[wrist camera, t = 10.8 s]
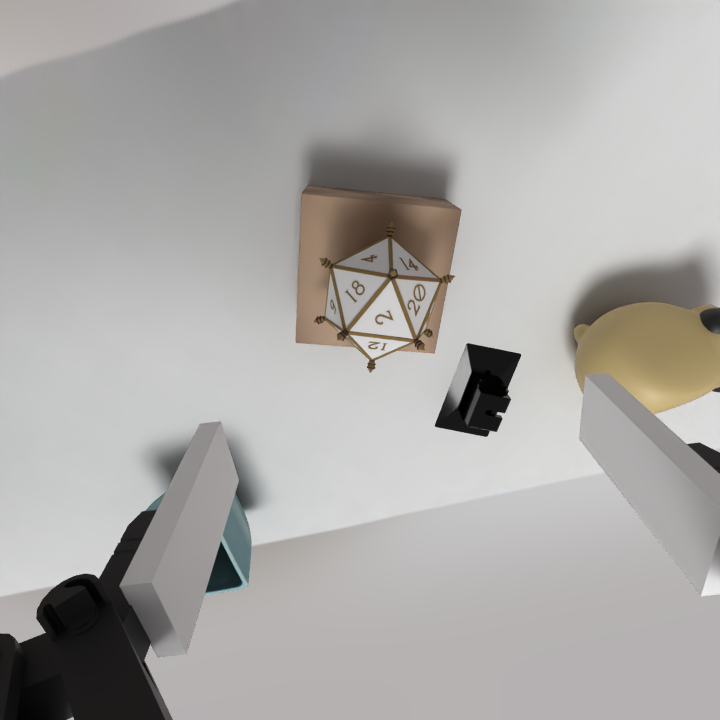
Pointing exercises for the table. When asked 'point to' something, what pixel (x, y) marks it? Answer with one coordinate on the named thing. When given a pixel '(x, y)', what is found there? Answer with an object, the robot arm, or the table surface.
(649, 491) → the robot arm
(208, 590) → the flower pot
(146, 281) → the table surface
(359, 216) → the walnut block
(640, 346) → the toy pig
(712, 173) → the table surface
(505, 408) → the black angular block
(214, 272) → the table surface
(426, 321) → the game die
